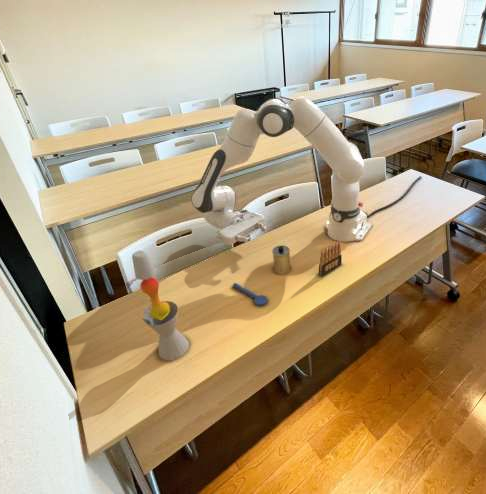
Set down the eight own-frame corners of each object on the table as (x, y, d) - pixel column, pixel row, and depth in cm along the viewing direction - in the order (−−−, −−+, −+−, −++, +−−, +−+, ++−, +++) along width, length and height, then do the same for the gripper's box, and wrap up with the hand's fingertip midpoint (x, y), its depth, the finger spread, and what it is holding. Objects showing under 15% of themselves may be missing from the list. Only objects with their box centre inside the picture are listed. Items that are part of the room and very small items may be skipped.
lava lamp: (151, 354, 98) (109, 259, 78) (172, 332, 105) (139, 239, 85) (175, 365, 95) (138, 268, 75) (195, 341, 102) (166, 247, 81)
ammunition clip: (338, 262, 132) (339, 237, 126) (341, 264, 131) (343, 239, 124) (318, 274, 127) (318, 248, 120) (321, 276, 126) (322, 250, 119)
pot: (281, 261, 134) (280, 240, 128) (294, 268, 130) (293, 246, 124) (270, 270, 129) (268, 248, 124) (283, 276, 126) (281, 255, 120)
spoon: (229, 288, 121) (229, 285, 120) (238, 282, 124) (238, 279, 123) (261, 308, 113) (260, 305, 112) (269, 300, 115) (269, 297, 115)
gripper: (211, 227, 128) (235, 239, 121) (250, 207, 141) (274, 217, 134) (214, 241, 132) (238, 253, 125) (251, 220, 145) (275, 230, 138)
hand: (257, 234), depth 130 cm, fingers open, 8 cm apart
